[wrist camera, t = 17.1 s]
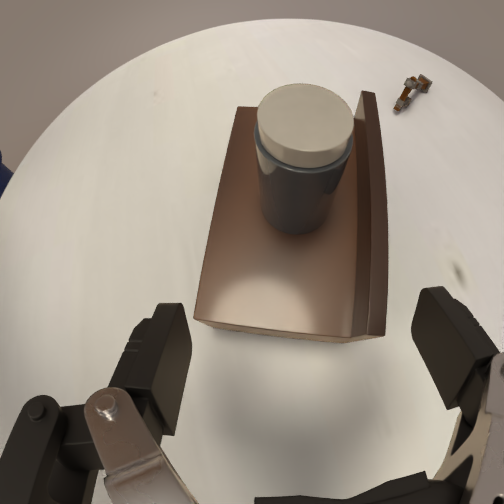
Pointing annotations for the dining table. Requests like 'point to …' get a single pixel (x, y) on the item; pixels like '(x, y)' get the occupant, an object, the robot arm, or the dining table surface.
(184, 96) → the dining table surface
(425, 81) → the brown slender grey-tipped part
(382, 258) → the shelf
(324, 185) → the salt shaker
